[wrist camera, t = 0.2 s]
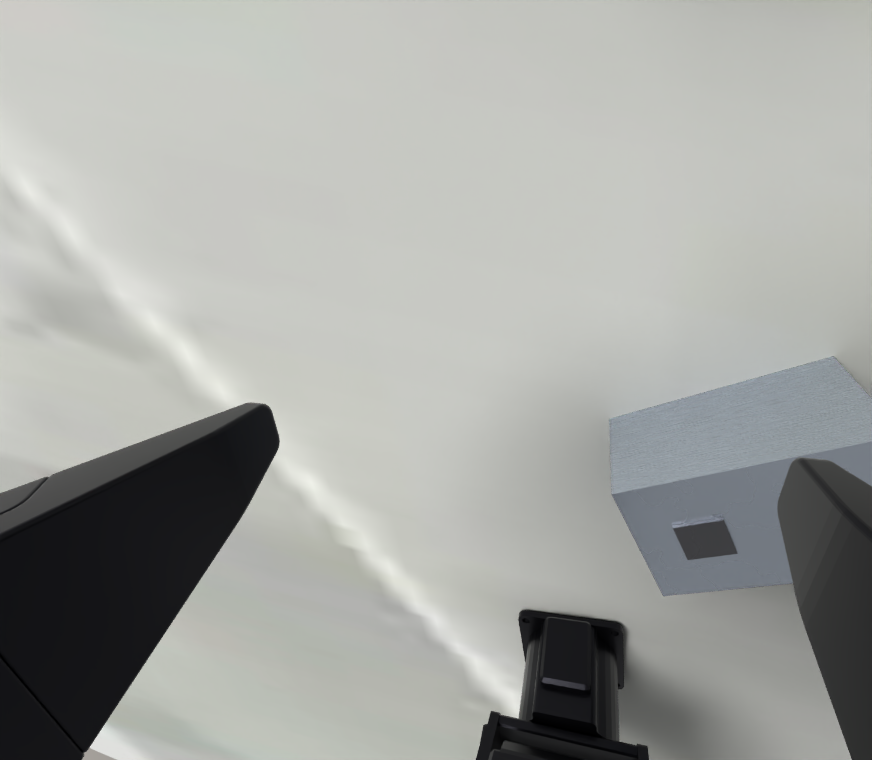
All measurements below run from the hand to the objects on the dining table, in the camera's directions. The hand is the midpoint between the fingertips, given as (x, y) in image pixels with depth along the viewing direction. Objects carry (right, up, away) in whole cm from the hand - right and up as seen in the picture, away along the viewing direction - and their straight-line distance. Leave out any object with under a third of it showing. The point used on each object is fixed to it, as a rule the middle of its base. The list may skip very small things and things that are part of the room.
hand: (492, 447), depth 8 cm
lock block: (+13, -2, +14) cm, 19 cm away
